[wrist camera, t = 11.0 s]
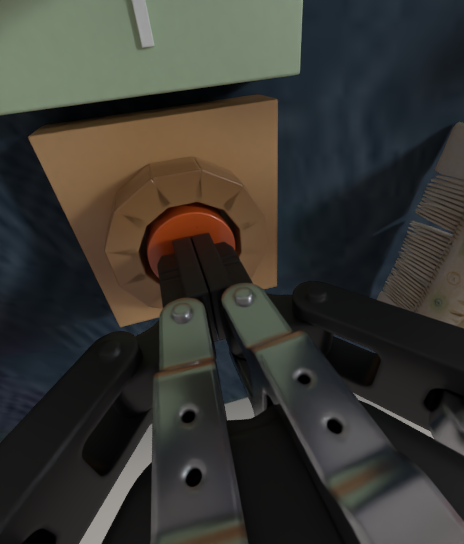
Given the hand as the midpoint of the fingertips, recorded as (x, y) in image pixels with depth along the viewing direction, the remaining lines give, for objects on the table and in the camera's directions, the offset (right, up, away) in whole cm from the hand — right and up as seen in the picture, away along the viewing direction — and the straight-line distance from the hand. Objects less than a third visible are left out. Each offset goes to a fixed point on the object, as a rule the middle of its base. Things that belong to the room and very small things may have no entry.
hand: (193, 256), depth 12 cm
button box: (-1, +2, +3) cm, 4 cm away
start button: (0, +1, +1) cm, 2 cm away
